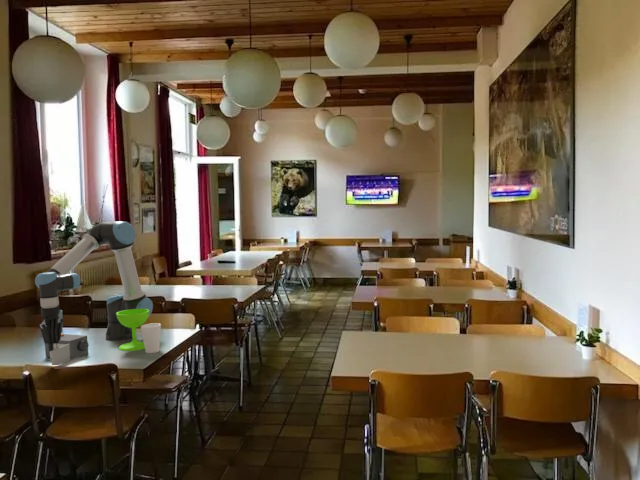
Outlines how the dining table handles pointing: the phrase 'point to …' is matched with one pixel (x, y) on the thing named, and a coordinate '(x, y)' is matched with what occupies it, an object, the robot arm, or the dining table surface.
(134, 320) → the wineglass
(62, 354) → the side door
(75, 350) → the camera body
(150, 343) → the foam cup
